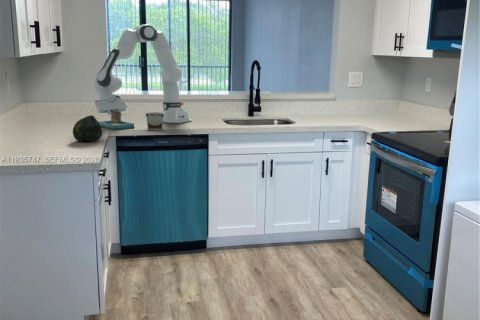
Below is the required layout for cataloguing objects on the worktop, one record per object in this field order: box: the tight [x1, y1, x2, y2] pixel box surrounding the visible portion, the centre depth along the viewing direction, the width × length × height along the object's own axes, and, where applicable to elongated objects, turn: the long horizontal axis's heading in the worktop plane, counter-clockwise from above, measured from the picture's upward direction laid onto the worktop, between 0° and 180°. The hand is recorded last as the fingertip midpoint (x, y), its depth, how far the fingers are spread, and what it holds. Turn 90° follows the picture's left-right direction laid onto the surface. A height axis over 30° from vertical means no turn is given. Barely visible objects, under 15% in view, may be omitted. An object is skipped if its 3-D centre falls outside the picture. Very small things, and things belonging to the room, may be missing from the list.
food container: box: [145, 111, 164, 130], centre depth 299 cm, size 12×6×10 cm, turn 84°
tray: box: [98, 119, 135, 131], centre depth 300 cm, size 14×20×3 cm
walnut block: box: [110, 111, 122, 124], centre depth 299 cm, size 4×4×8 cm
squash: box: [72, 115, 103, 142], centre depth 250 cm, size 14×15×15 cm
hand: (116, 116), depth 298 cm, fingers closed on walnut block, 4 cm apart
